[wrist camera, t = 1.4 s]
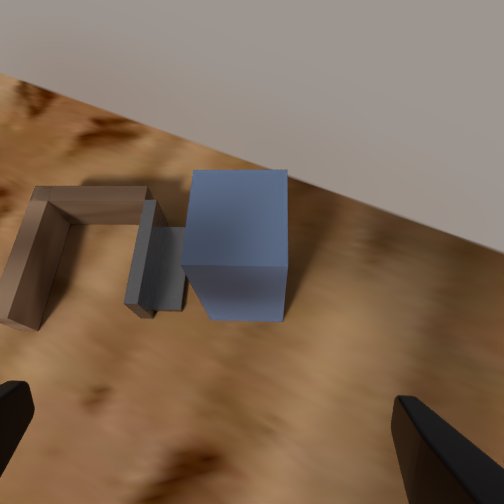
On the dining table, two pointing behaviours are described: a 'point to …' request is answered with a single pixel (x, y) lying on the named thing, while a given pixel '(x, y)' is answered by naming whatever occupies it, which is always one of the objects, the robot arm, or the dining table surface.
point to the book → (238, 243)
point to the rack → (56, 242)
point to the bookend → (156, 265)
